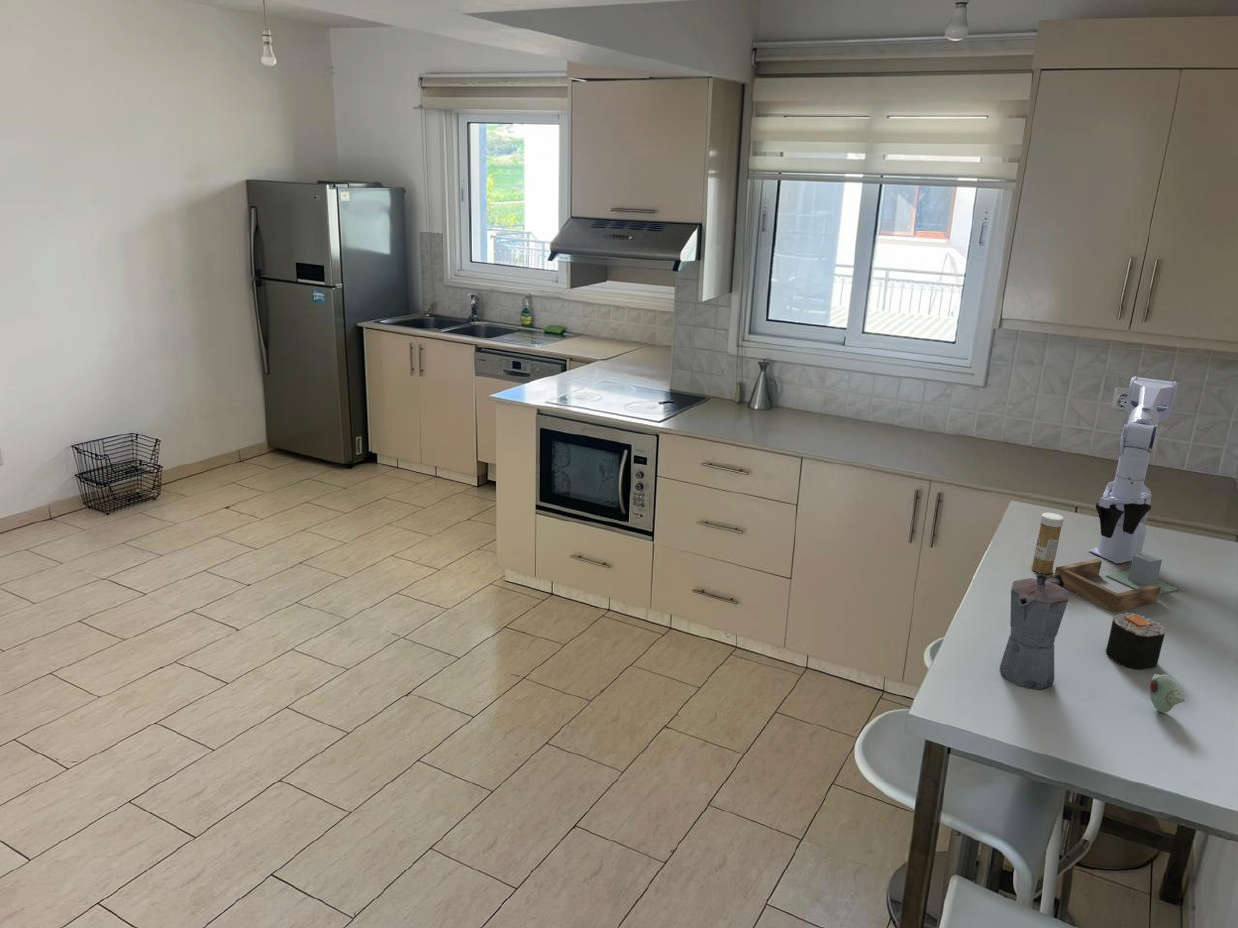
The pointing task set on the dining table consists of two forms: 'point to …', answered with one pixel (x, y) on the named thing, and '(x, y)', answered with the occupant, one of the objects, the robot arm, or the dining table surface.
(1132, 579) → the slate block
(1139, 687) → the dining table surface
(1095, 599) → the walnut stall
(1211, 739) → the dining table surface
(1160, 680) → the pale green rounded piece
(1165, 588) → the green mat
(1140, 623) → the sushi
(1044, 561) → the sprinkles bottle
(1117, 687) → the dining table surface
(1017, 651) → the moka pot
